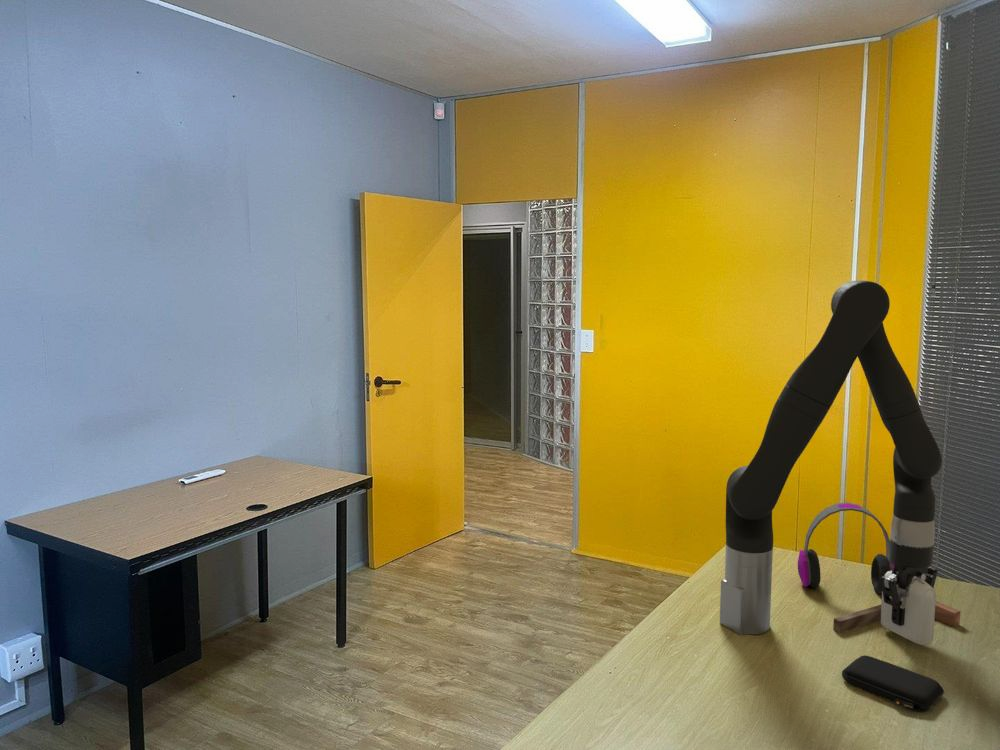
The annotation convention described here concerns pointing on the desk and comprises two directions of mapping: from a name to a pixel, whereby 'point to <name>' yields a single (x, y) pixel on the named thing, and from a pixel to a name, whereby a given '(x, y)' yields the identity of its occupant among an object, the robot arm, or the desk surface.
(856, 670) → the carrying case or bag
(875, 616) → the brown l-shaped block
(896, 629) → the photo printer
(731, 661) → the desk surface
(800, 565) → the headphones
